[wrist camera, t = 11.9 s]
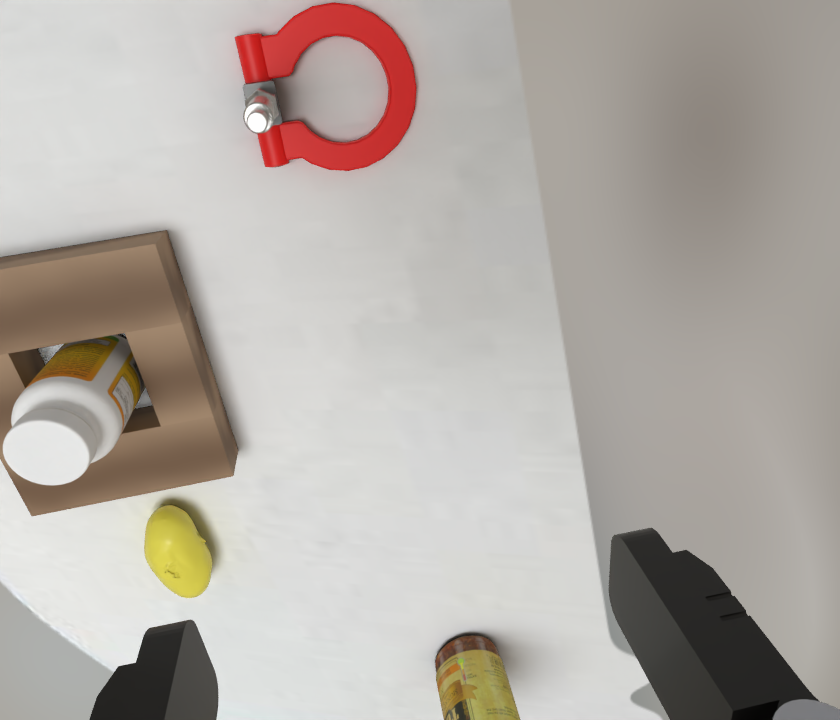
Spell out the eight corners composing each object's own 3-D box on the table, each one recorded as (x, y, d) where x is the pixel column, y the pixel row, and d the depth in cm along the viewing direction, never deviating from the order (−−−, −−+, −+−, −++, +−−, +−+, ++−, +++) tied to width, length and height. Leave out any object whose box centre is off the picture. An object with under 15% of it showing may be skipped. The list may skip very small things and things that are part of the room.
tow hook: (401, -5, 33) (229, 17, 32) (467, -39, 22) (202, -7, 20) (420, 155, 37) (267, 180, 36) (484, 198, 25) (262, 236, 24)
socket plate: (-65, 268, 35) (-96, 285, 32) (166, 230, 36) (155, 243, 33) (49, 487, 42) (31, 516, 39) (238, 450, 43) (233, 476, 40)
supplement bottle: (40, 370, 38) (-39, 460, 30) (92, 311, 37) (25, 387, 29) (116, 418, 41) (63, 514, 32) (167, 364, 39) (127, 449, 31)
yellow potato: (198, 489, 44) (188, 526, 41) (223, 570, 48) (216, 609, 44) (138, 499, 44) (123, 537, 40) (168, 579, 47) (157, 620, 44)
